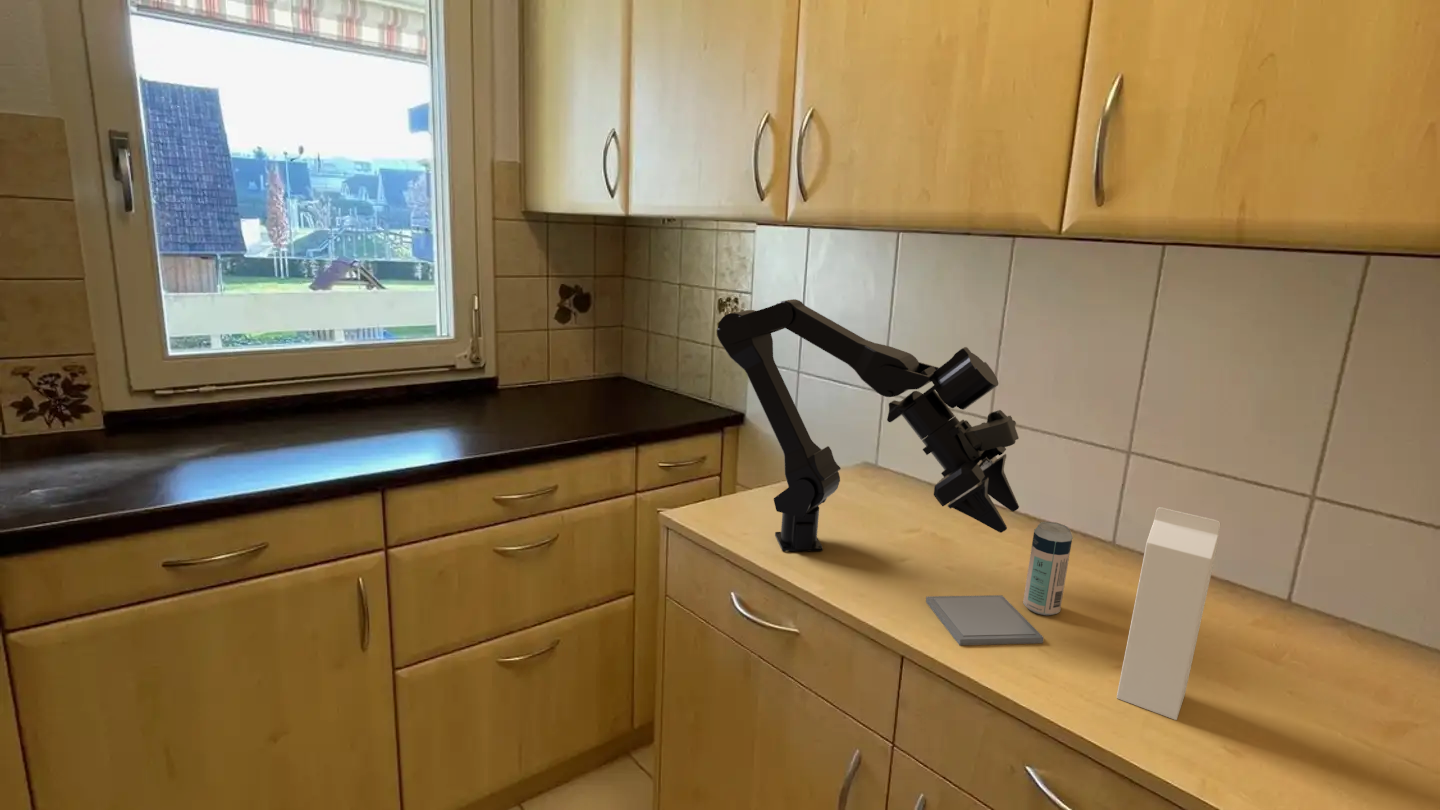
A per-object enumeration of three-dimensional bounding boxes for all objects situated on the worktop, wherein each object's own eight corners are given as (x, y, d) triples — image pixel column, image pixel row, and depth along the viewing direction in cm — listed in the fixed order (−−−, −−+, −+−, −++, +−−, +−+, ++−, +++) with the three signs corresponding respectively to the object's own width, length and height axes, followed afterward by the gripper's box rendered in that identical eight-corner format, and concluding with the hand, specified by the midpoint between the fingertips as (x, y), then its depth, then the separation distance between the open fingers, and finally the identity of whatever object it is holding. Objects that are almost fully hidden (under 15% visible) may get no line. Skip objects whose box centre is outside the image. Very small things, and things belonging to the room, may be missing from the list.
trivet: (925, 601, 106) (926, 595, 106) (1001, 600, 108) (1002, 594, 108) (959, 645, 96) (960, 638, 96) (1042, 643, 97) (1043, 636, 97)
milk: (1126, 676, 91) (1160, 498, 86) (1185, 696, 88) (1224, 513, 82) (1115, 699, 86) (1150, 513, 81) (1177, 722, 83) (1218, 529, 78)
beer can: (1057, 603, 108) (1071, 523, 105) (1062, 620, 103) (1076, 536, 100) (1020, 598, 109) (1033, 518, 106) (1024, 614, 104) (1037, 531, 102)
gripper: (969, 407, 97) (1051, 510, 94) (998, 383, 112) (1069, 470, 110) (901, 456, 102) (977, 554, 99) (938, 427, 118) (1004, 510, 115)
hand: (1010, 519), depth 106 cm, fingers open, 9 cm apart
